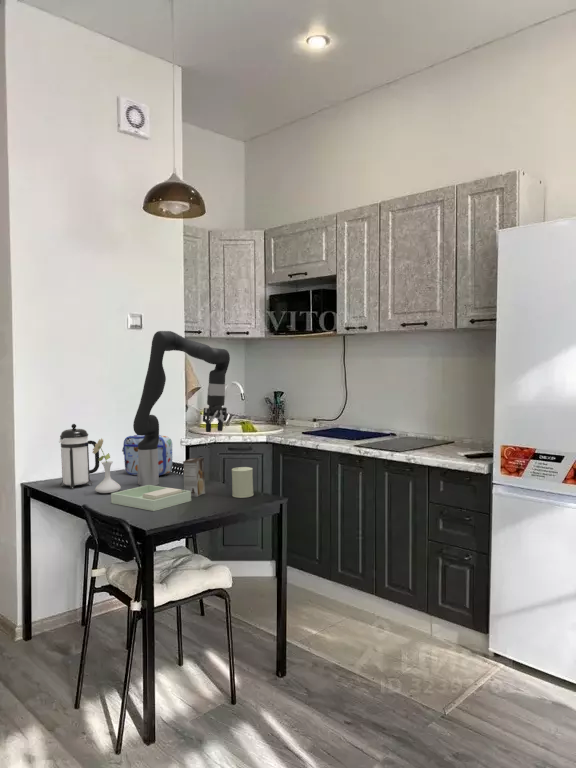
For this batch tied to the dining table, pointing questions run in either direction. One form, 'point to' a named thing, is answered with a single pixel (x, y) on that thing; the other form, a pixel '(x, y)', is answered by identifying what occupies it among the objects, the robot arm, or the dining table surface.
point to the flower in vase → (107, 483)
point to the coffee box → (194, 476)
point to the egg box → (161, 493)
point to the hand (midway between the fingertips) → (214, 431)
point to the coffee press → (76, 457)
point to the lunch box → (132, 454)
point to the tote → (135, 499)
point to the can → (242, 482)
